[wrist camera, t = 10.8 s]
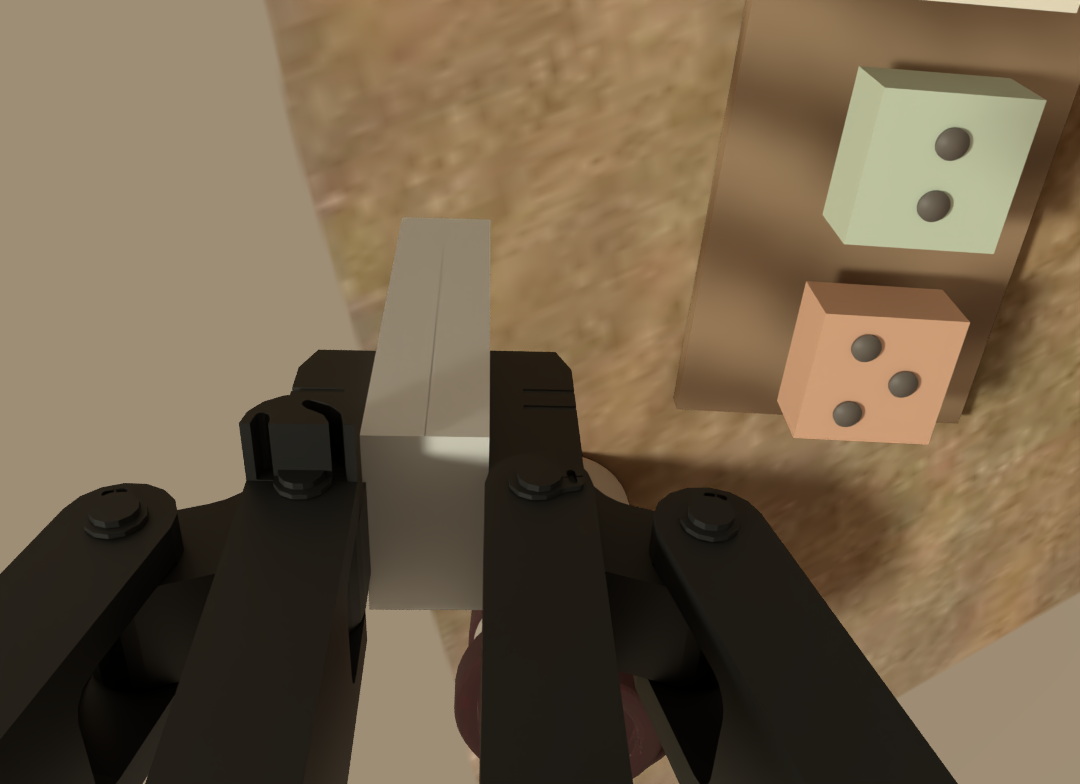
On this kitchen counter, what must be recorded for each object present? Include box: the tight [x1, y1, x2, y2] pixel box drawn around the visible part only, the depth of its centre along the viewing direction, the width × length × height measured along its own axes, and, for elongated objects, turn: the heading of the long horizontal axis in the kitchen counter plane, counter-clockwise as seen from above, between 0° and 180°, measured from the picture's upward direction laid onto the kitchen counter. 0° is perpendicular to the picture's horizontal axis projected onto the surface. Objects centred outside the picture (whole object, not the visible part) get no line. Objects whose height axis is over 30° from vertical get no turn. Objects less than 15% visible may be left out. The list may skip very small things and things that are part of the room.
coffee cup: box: [454, 457, 666, 779], centre depth 47 cm, size 10×10×15 cm
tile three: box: [777, 281, 970, 444], centre depth 44 cm, size 6×6×3 cm
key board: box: [674, 0, 1080, 424], centre depth 42 cm, size 28×14×2 cm, turn 175°
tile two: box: [823, 66, 1047, 254], centre depth 39 cm, size 6×6×3 cm
